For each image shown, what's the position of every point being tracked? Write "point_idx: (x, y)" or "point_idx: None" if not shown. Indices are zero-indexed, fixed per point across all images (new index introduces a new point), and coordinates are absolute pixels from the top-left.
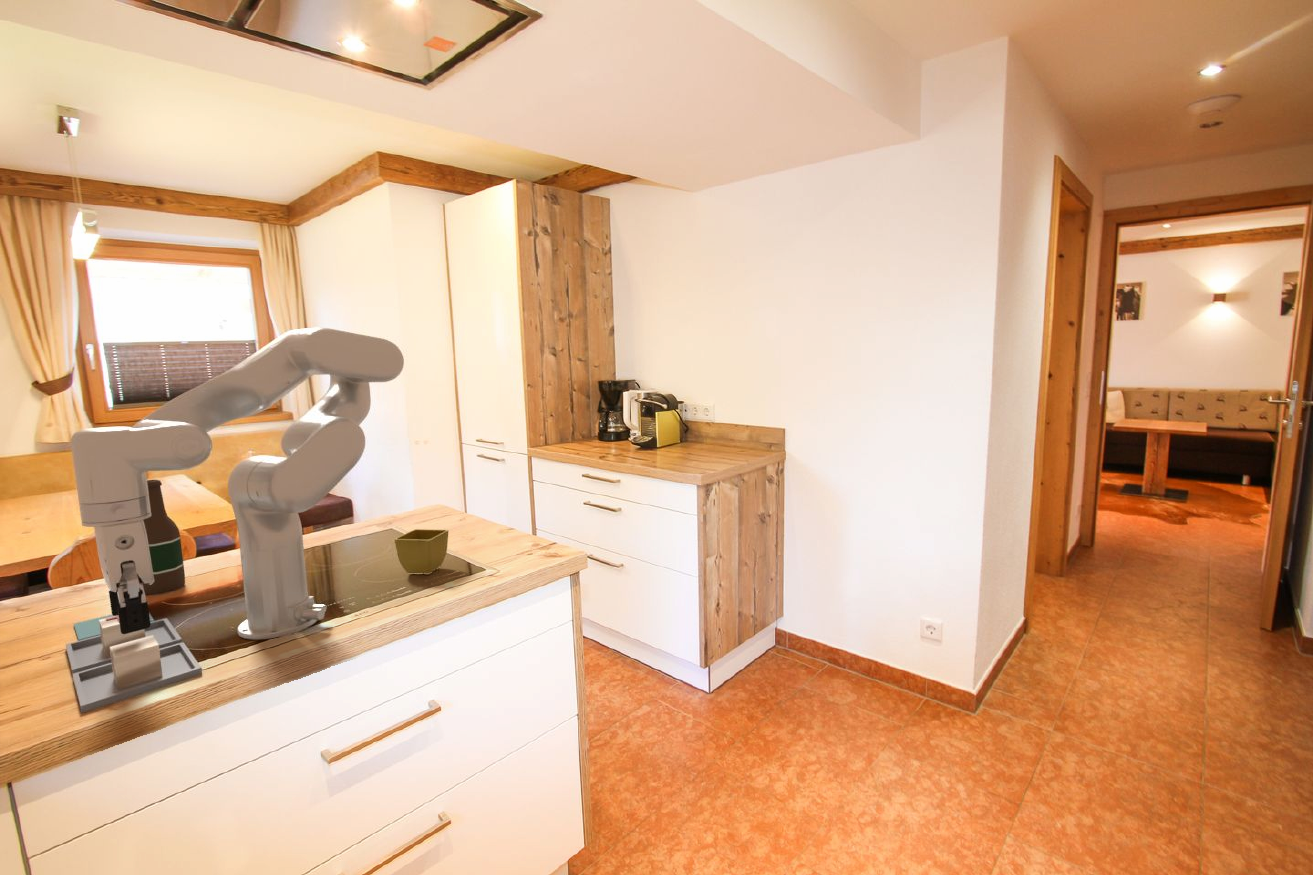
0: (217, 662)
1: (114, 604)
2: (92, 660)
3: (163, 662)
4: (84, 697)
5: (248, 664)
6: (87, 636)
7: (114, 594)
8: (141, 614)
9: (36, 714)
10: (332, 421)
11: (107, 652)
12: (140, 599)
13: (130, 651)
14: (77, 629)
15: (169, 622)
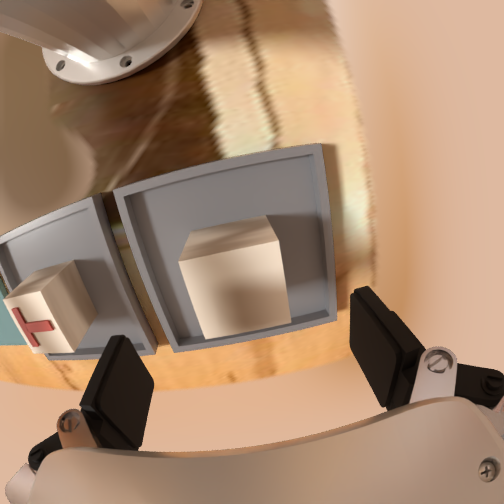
0: (254, 112)
1: (145, 407)
2: (102, 329)
3: (184, 219)
4: (304, 323)
5: (315, 63)
6: (22, 336)
7: (137, 435)
8: (409, 332)
9: (273, 359)
10: None
11: (93, 316)
12: (467, 367)
13: (277, 297)
14: (3, 343)
15: (5, 234)
